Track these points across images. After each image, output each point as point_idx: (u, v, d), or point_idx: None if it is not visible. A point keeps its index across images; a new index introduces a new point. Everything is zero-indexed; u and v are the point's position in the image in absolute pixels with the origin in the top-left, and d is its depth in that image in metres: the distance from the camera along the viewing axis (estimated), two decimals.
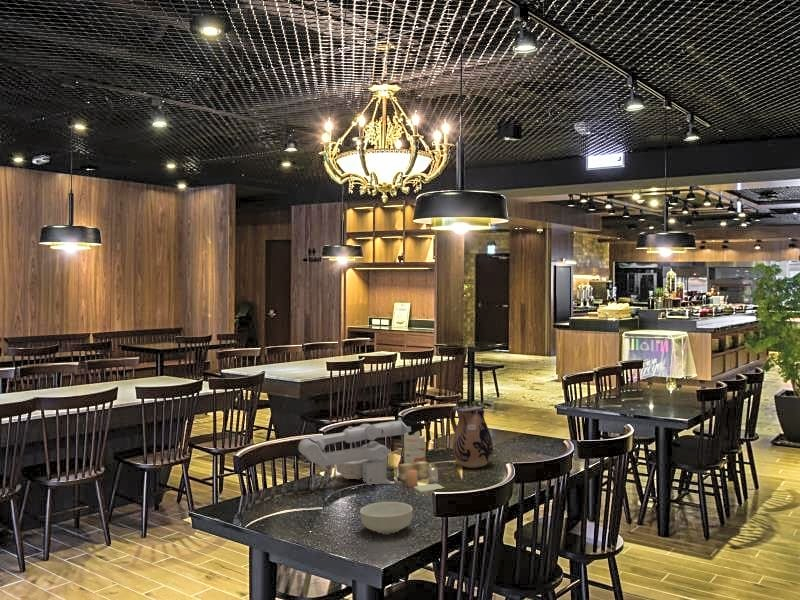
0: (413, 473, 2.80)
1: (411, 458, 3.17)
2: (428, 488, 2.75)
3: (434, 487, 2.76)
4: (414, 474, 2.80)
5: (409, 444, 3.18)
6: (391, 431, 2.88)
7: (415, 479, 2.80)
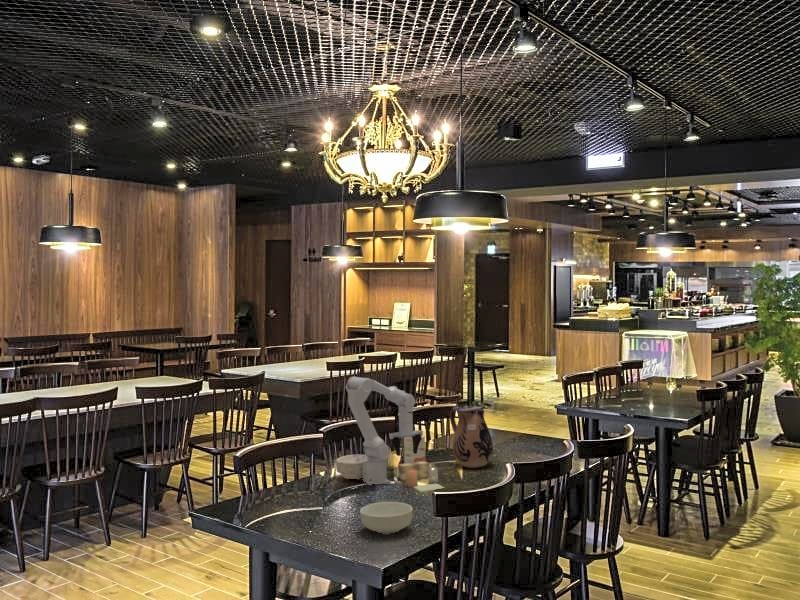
0: (413, 473, 2.80)
1: (411, 458, 3.17)
2: (428, 488, 2.75)
3: (434, 487, 2.76)
4: (414, 474, 2.80)
5: (409, 444, 3.18)
6: (409, 421, 2.97)
7: (415, 479, 2.80)
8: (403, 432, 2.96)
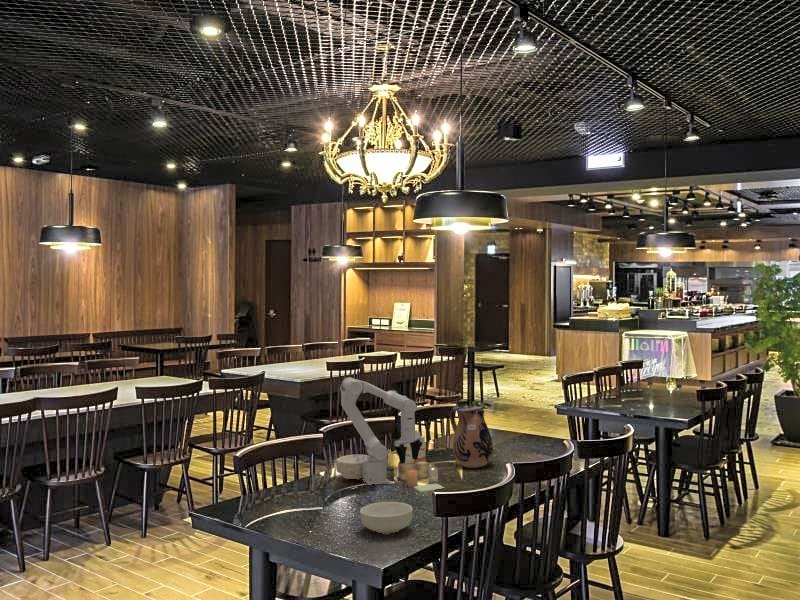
0: (413, 473, 2.80)
1: (411, 458, 3.17)
2: (428, 488, 2.75)
3: (434, 487, 2.76)
4: (414, 474, 2.80)
5: (409, 444, 3.18)
6: (409, 428, 2.90)
7: (415, 479, 2.80)
8: (408, 438, 2.90)
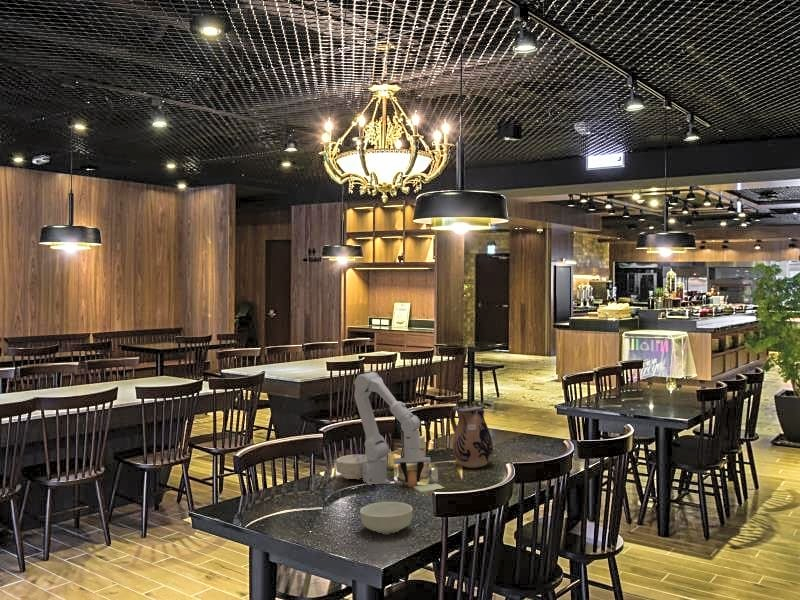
0: (413, 473, 2.80)
1: None
2: (428, 488, 2.75)
3: (434, 487, 2.76)
4: (414, 474, 2.80)
5: None
6: (407, 447, 2.79)
7: (415, 479, 2.80)
8: (406, 458, 2.80)
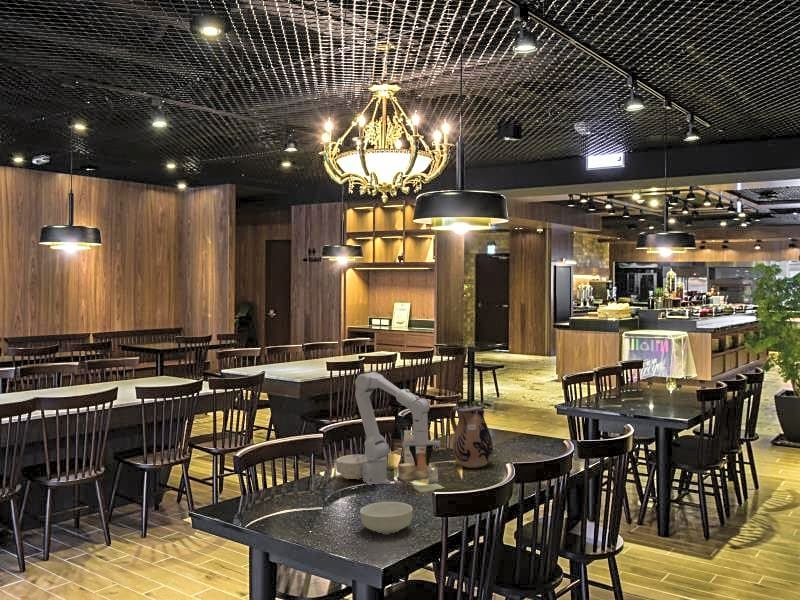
0: (422, 456, 2.77)
1: (411, 458, 3.17)
2: (428, 488, 2.75)
3: (434, 487, 2.76)
4: (423, 457, 2.77)
5: None
6: (416, 430, 2.76)
7: (424, 462, 2.77)
8: (415, 441, 2.76)
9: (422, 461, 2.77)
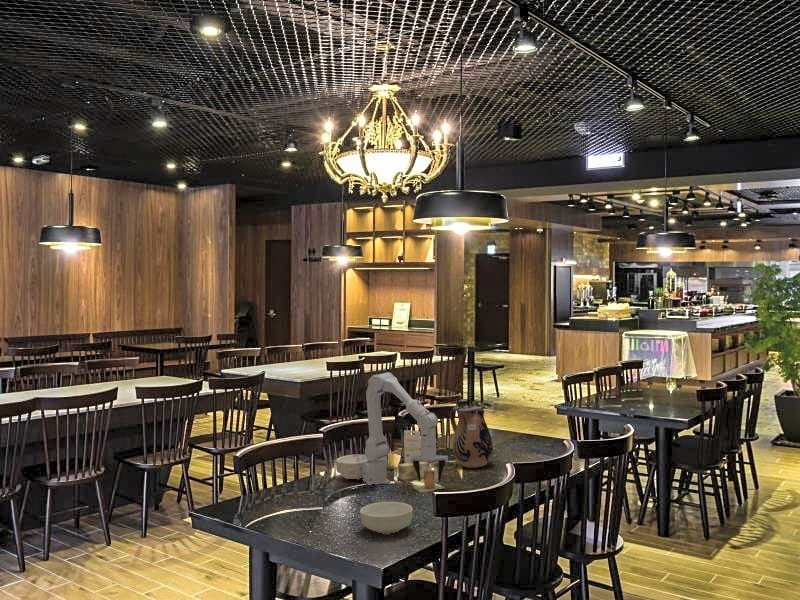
0: (430, 474, 2.74)
1: None
2: None
3: None
4: (431, 475, 2.74)
5: (409, 444, 3.18)
6: (423, 445, 2.74)
7: (432, 481, 2.75)
8: (423, 456, 2.74)
9: (430, 479, 2.74)
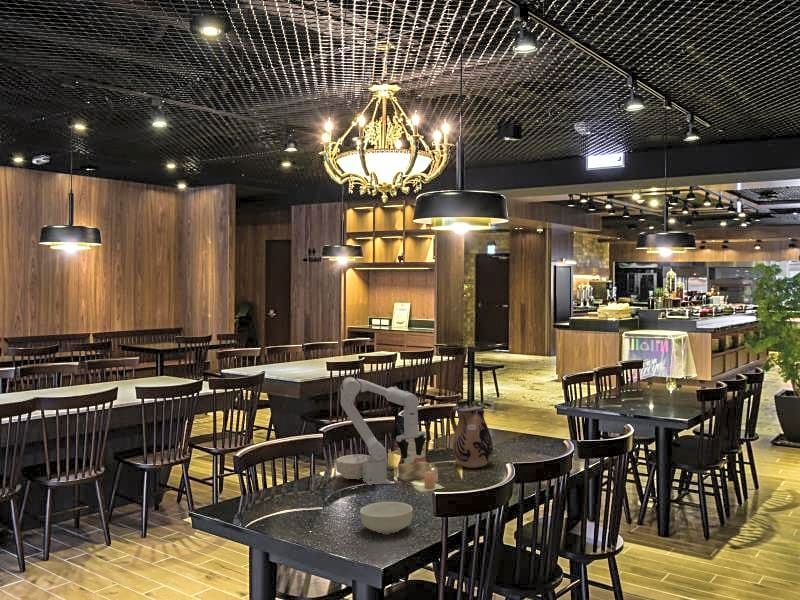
0: (430, 475, 2.74)
1: (411, 458, 3.17)
2: None
3: None
4: (431, 476, 2.74)
5: (409, 444, 3.18)
6: (411, 423, 2.89)
7: (432, 481, 2.75)
8: (410, 434, 2.89)
9: (430, 479, 2.74)
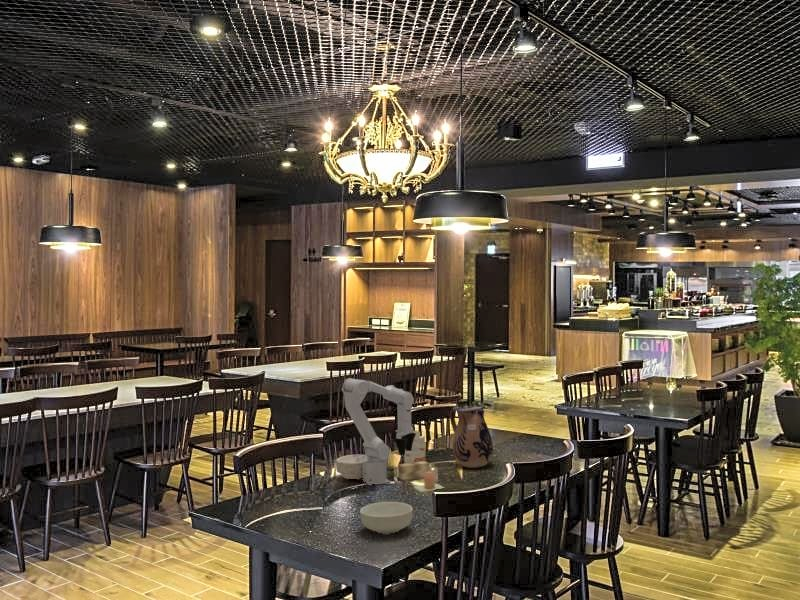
0: (430, 475, 2.74)
1: (411, 458, 3.17)
2: None
3: None
4: (431, 476, 2.74)
5: None
6: (407, 420, 2.95)
7: (432, 481, 2.75)
8: (407, 430, 2.95)
9: (430, 479, 2.74)
